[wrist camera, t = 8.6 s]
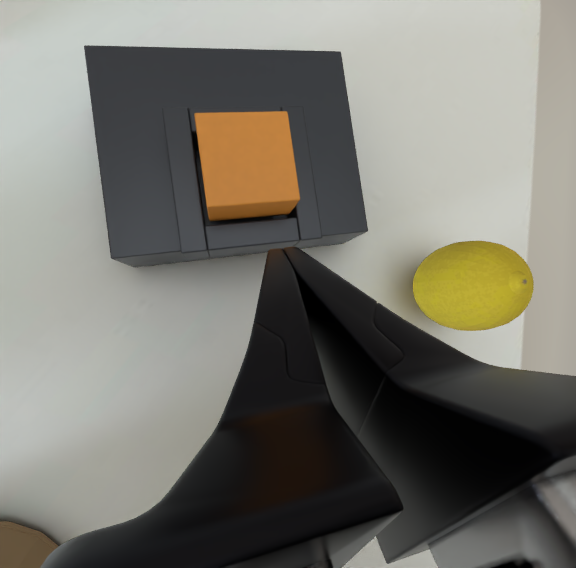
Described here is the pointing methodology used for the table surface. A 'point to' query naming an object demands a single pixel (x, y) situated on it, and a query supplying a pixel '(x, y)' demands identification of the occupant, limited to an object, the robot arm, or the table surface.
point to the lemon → (473, 285)
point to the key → (247, 164)
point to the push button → (186, 158)
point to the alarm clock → (23, 546)
